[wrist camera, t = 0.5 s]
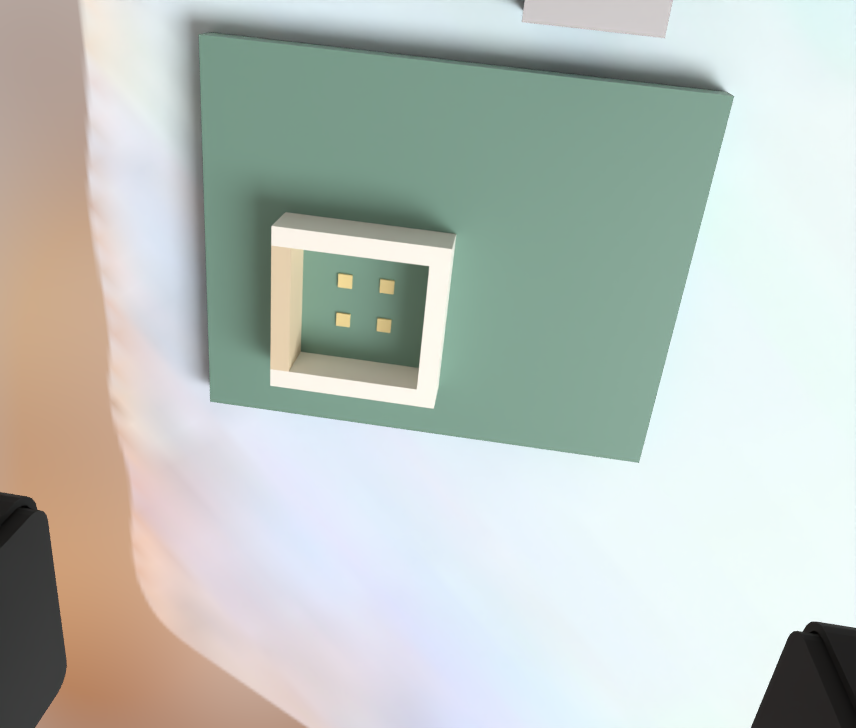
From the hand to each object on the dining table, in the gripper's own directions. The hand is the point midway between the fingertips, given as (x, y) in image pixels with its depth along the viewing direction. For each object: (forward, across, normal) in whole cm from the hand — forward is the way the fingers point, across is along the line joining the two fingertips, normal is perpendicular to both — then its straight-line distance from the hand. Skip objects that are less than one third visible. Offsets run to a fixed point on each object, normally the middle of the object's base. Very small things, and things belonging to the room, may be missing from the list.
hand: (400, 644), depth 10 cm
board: (+25, +2, +3) cm, 25 cm away
